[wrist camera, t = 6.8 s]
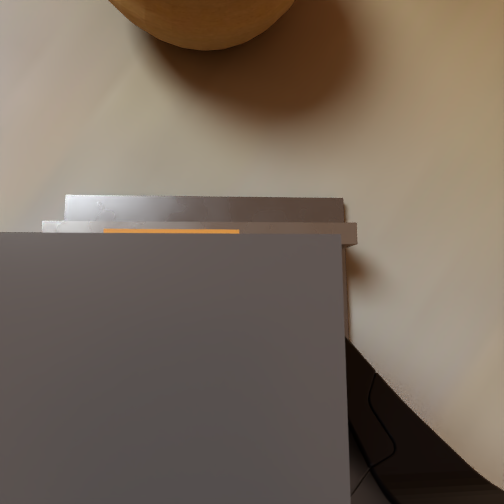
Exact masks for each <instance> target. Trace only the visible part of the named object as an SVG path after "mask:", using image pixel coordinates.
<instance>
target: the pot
mask: <svg viewBox="0 0 504 504" xmlns="http://www.w3.org/2000/svg"><path fill="white" fill-rule="evenodd" d="M109 1H110V2H111V3H112V4H113V5H114V6H115V7H116V8H117V9H118V10H119V11H120V12H121V13H122V14H123V15H124V16H125V17H126V18H128V19H129V20H130V21H131V22H132V23H134V24H135V25H136V26H138V27H140V28H141V29H143V30H144V31H146V32H148V33H149V34H151V35H153V36H154V37H156V38H158V39H159V40H161V41H164V42H167V43H170V44H173V45H176V46H179V47H182V48H188V49H195V50H203V51H205V50H219V49H226V48H229V47H232V46H236V45H239V44H243V43H245V42H247V41H249V40H251V39H252V38H254V37H256V36H258V35H259V34H261V33H263V32H264V31H266V30H267V29H268V28H269V27H270V26H271V25H272V24H274V23H275V22H276V21H277V20H278V19H279V18H280V17H281V16H282V15H283V14H284V13H285V12H286V11H287V10H288V9H289V8H290V7H291V6H292V4H293V3H294V1H295V0H109Z"/></svg>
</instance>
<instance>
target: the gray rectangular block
mask: <svg viewBox="0 0 504 504" xmlns="http://www.w3.org/2000/svg"><path fill="white" fill-rule="evenodd" d="M0 504H351V497H350V469H349V441H348V413H347V385H346V357H345V328H344V300H343V272H342V244H341V234H239V230H226V229H104V231H103V233H41V232H0Z"/></svg>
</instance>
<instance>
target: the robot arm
mask: <svg viewBox="0 0 504 504" xmlns="http://www.w3.org/2000/svg"><path fill="white" fill-rule="evenodd" d="M345 357H346V385H347V413H348V441H349V469H350V497H351V504H504V491H503V490H502V489H500V488H499V487H497V486H495V485H494V484H492V483H491V482H490V481H488V480H487V479H485V478H484V477H483V476H481V475H480V474H479V473H478V472H477V471H475V470H474V469H473V468H472V467H471V466H470V465H469V464H467V463H466V462H465V461H464V460H463V459H462V458H461V457H460V456H459V455H458V454H457V453H456V452H455V451H454V450H453V449H452V448H451V447H450V446H449V445H448V444H447V443H445V442H444V441H443V440H442V439H441V438H440V437H439V436H438V435H437V434H436V433H435V432H434V431H433V430H432V429H431V428H430V427H429V426H428V425H427V424H426V423H425V422H424V421H422V420H421V419H420V418H419V417H418V416H417V415H416V414H415V413H414V412H413V411H412V410H411V409H410V408H409V407H408V406H407V405H406V404H405V403H404V402H403V401H402V399H401V398H400V397H399V396H398V395H397V394H396V393H395V392H394V391H393V390H392V389H391V387H390V386H389V385H388V384H387V383H386V382H385V381H384V380H383V378H382V377H381V376H380V375H379V374H378V373H375V372H376V371H375V369H374V368H373V367H372V366H371V365H370V364H369V363H368V361H367V360H366V359H365V358H364V357H363V356H362V355H361V353H360V352H359V351H358V350H357V349H356V348H355V346H354V345H353V344H352V343H351V342H350V341H349V340H348V338H347V337H346V336H345Z"/></svg>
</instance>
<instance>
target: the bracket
mask: <svg viewBox="0 0 504 504" xmlns="http://www.w3.org/2000/svg"><path fill="white" fill-rule="evenodd" d="M104 229H226V230H239V234H341V244H342V272H343V300H344V328H345V336H346V337H347V338H348V340H349V334H348V308H347V283H346V257H345V248H347V247H350V246H353V245H356V244H357V223H344V207H343V198H287V197H200V196H113V195H66V200H65V220H64V221H42V233H103V231H104Z"/></svg>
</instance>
